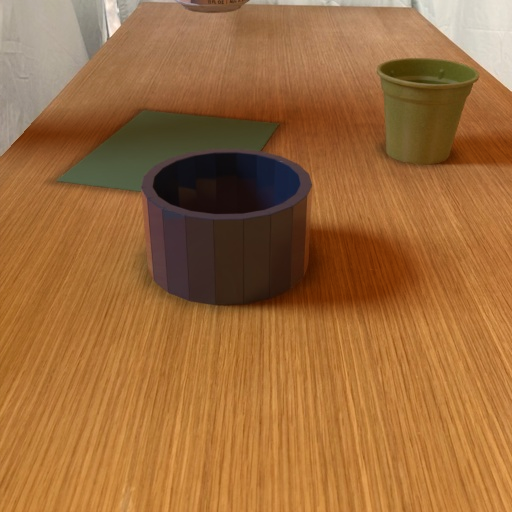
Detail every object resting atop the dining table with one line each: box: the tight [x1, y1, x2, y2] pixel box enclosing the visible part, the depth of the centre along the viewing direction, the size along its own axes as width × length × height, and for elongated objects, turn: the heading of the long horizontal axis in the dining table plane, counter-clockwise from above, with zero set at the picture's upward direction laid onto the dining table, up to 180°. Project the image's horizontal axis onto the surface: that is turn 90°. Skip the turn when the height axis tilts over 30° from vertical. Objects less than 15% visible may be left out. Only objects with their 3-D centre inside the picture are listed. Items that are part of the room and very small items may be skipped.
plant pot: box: [376, 57, 480, 165], centre depth 67 cm, size 9×9×9 cm
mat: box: [55, 109, 280, 193], centre depth 69 cm, size 16×20×1 cm
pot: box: [140, 149, 313, 306], centre depth 49 cm, size 12×12×7 cm
